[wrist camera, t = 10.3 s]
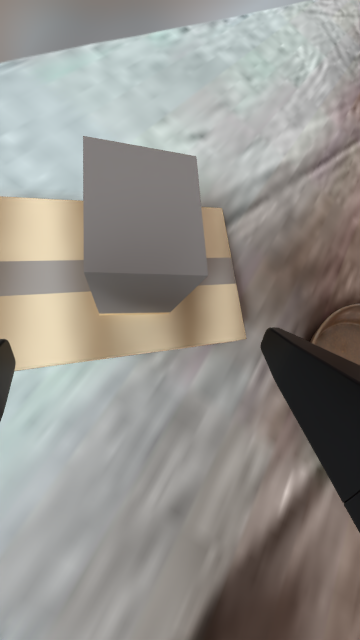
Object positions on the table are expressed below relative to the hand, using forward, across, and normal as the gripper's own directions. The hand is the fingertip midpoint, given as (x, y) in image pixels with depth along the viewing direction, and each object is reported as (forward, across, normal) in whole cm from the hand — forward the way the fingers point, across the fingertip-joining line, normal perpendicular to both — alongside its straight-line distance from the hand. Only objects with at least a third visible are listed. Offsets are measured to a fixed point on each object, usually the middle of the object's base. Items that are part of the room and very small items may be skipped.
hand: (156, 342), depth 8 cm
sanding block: (+10, 0, +2) cm, 10 cm away
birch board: (+12, +2, +4) cm, 13 cm away
